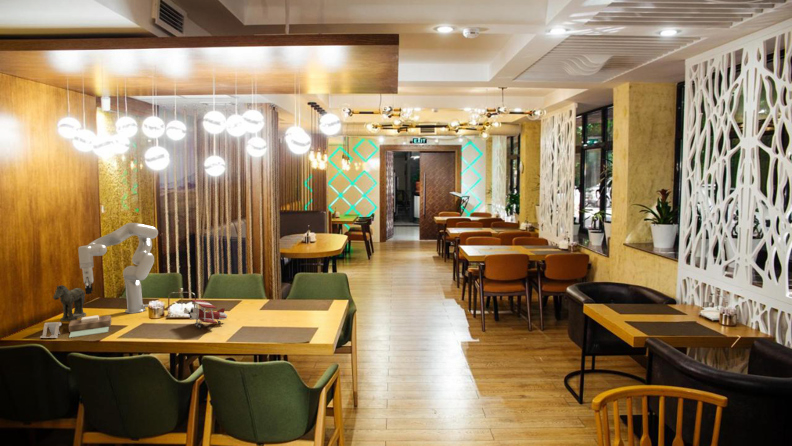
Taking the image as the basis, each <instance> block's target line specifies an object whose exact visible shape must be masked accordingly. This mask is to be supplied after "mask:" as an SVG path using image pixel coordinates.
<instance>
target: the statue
mask: <svg viewBox="0 0 792 446" xmlns="http://www.w3.org/2000/svg"><path fill="white" fill-rule="evenodd" d="M85 295H86V291H85V290H83V289H82V288H81V287H79V288H78V287H76V288H73V289H70V290H69V289H68V287H66V286H65V285H63V284H61V285H56V289H55V292H54V294H53V296H52V297H53V298H52V299H54V301H57V300H60V303H61V304H62V310H63V311H62V313H63V315H62V316H61V318H59V321H60V320H61V321H60V322H71V321H72V320H79V319H82V317H87V312H84V308H83V307H84V304H85V300H86V299H85V297H86V296H85ZM73 305H74V311H73Z"/></svg>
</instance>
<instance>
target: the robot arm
mask: <svg viewBox="0 0 792 446" xmlns="http://www.w3.org/2000/svg"><path fill="white" fill-rule="evenodd" d="M158 235H159V230H158V229H157V228H156V227H155V226H151V225H148V224H143V223H137V222H128V223H125V224H124V225H122V226H120V227H118V229H116V230H114V231H112V232H110V233H108V234H105V235H103V236H101V237H99V238H98V237H97V239H95V240H92V241H91V242H90V243H88V244H87V245H81V246H78V250H77V251H78V261H79V269H81V270H82V278H83V284H84V286H85V287H84V288H85V289H84V292H85V295H90V294H92V293H93V291H94V290H93V283H94V271H93V268H94V267H95V266H94V257H99V256H104V255H105V254H106V253H107V251H108V249H107V248H108V247H112V246H115V245H119V244H121V243H123V242H124V241H125V240H127V239H129V238H130V237H132V236H137V238H138V246H137V248H136V250H135V251H134V254H133V256H132V259H131V262H132V263H133V264H134V265H128V266H126V267H125V268H124V269H123V271H122V275H123V280H124V285H125V295H126V305H127V306H126V308H127V309H125V310H124V313H125V314H137V313H142V312H145V311H146V309H147V308H149V307H148V305H149V304H150V303H149V304H148V303H145V304H144V302H143V295H142V292H143V290H142V283H141V281H145V279H147V277H148V276H149V273H150V272H151V269H152V268H153V265H154V263H155V256H154V254H153V253H152V252H151V250H152V248H153V241H152V240H153V239H156V238H157V236H158Z"/></svg>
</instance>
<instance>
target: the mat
mask: <svg viewBox="0 0 792 446" xmlns="http://www.w3.org/2000/svg"><path fill="white" fill-rule="evenodd" d="M109 328H110V327H102V328H95V329H88V330H81V331H74V332H70V334H69V336H68V338H69V339H70V338H71V337H72V338H78V337H84V336H91V335H98V334H105V333H109ZM72 338H71V339H72Z"/></svg>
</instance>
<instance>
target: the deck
mask: <svg viewBox="0 0 792 446" xmlns="http://www.w3.org/2000/svg"><path fill="white" fill-rule="evenodd" d="M81 319H82V318H79V319H76V320H72V321H69V323H68V332H70V333H71V332H74V331H81V330H88V329H95V328H102V327H109V328H111V327H112V315H103V316H99V320H98V321H92V322H84V323H82V321H81Z"/></svg>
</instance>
